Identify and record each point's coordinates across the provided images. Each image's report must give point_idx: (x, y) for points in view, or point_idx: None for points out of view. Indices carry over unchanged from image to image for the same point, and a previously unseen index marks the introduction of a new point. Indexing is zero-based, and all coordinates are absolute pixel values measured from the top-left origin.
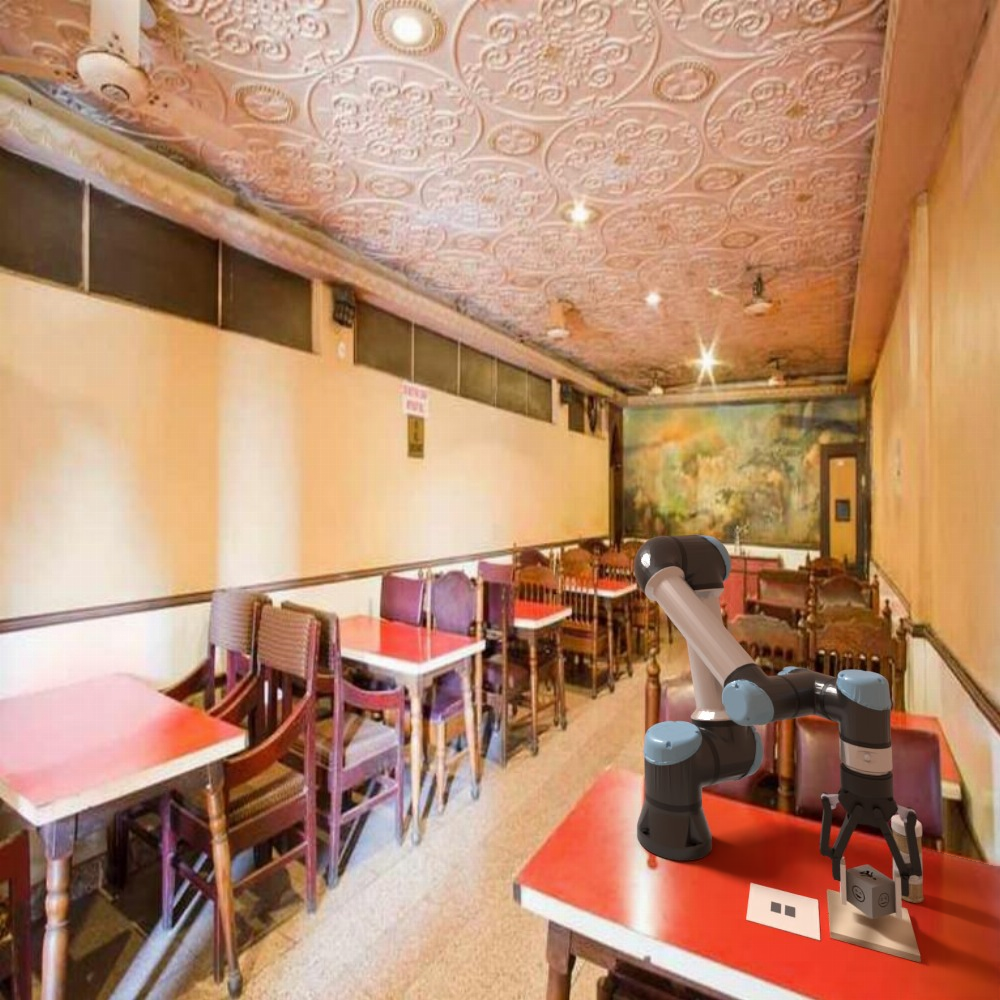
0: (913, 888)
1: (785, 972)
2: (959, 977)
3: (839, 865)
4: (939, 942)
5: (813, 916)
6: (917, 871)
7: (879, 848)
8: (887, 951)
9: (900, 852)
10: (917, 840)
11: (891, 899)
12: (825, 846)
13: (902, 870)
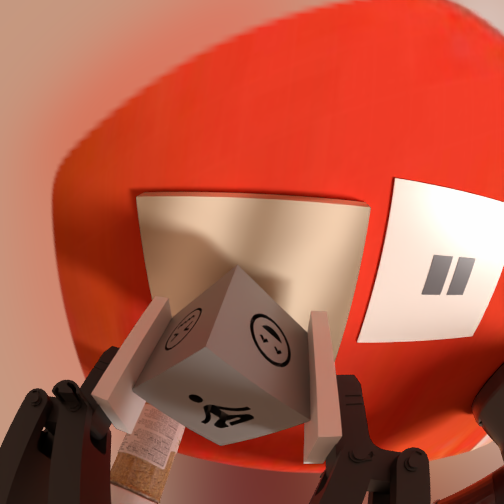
0: None
1: (464, 41)
2: (85, 181)
3: (339, 431)
4: (116, 284)
5: (388, 277)
6: (32, 402)
7: (215, 453)
8: (214, 193)
9: (151, 460)
10: (110, 476)
11: (163, 340)
12: (410, 491)
13: (74, 416)
